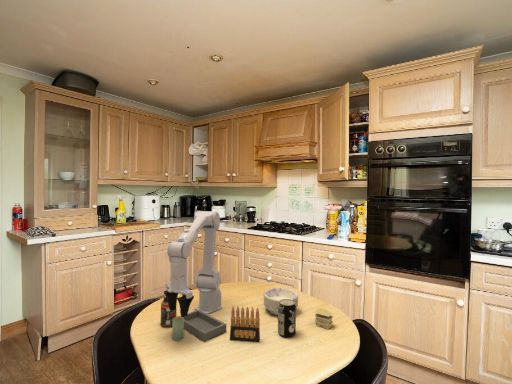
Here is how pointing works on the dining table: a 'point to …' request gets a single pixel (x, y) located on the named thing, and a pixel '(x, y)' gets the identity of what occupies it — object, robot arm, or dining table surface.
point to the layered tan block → (323, 318)
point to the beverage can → (286, 318)
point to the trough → (203, 325)
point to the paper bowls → (278, 298)
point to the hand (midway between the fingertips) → (178, 312)
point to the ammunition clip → (245, 326)
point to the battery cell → (178, 328)
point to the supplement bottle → (166, 313)
